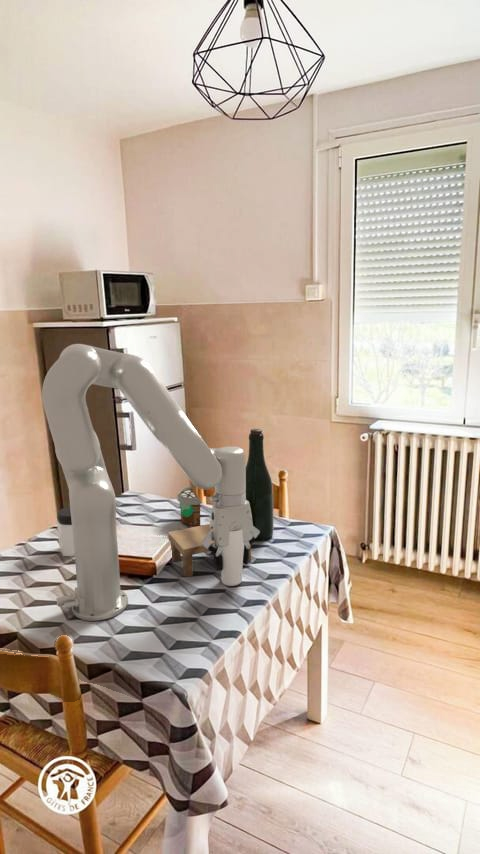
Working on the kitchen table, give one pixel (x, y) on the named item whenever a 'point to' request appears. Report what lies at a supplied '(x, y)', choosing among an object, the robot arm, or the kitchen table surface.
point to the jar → (65, 532)
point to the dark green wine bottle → (259, 487)
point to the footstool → (189, 545)
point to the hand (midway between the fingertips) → (231, 564)
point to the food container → (189, 507)
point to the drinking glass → (233, 559)
